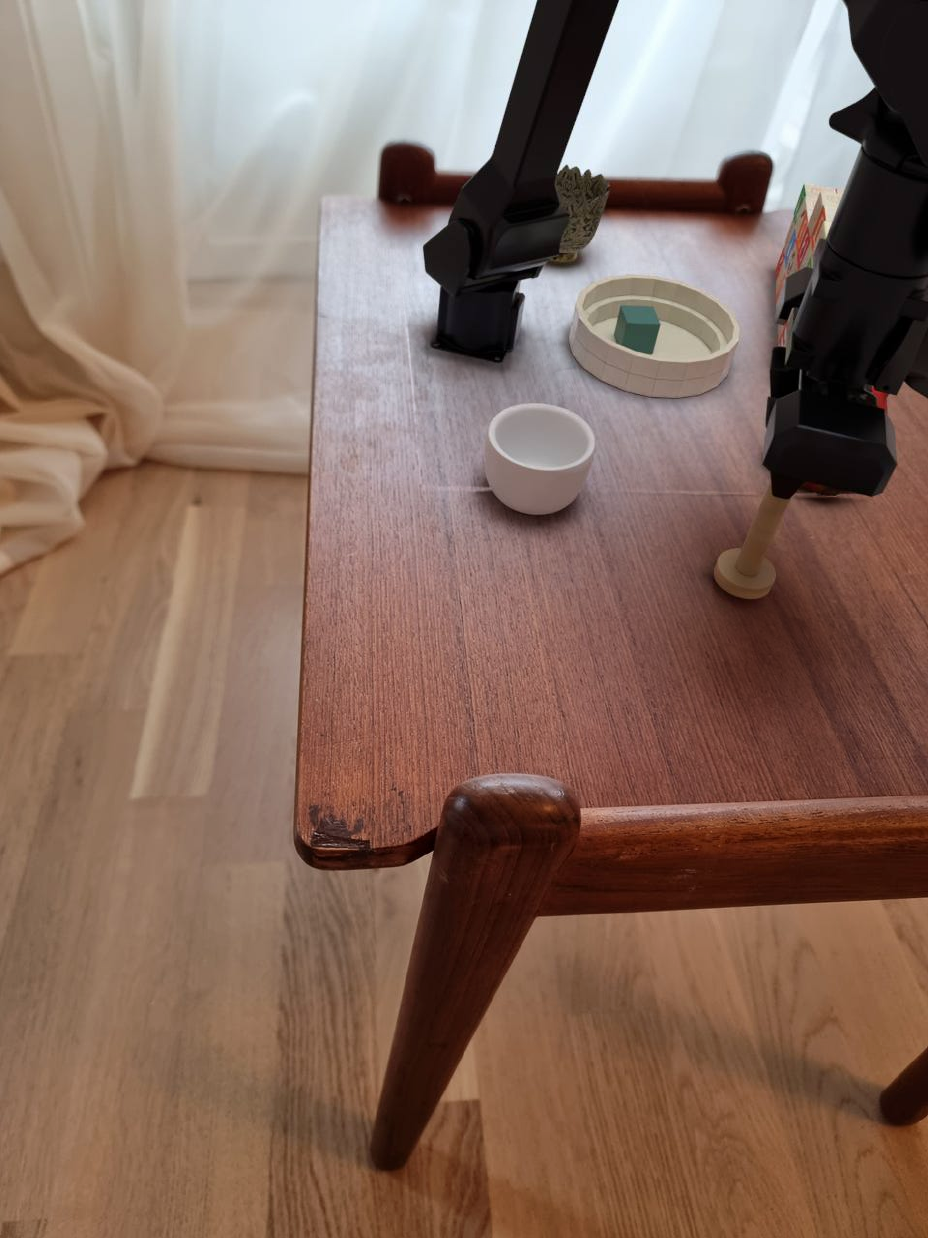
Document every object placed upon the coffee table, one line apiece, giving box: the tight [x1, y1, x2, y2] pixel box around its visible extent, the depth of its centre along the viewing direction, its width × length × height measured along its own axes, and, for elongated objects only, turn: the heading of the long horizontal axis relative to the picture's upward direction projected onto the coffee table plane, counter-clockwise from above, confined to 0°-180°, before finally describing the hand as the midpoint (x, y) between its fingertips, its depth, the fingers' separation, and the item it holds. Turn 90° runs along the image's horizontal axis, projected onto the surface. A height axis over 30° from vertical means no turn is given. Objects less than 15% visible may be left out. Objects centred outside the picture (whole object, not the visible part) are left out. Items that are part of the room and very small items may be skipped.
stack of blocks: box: [775, 182, 845, 347], centre depth 89 cm, size 21×6×12 cm, turn 168°
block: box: [614, 305, 661, 354], centre depth 87 cm, size 3×3×3 cm
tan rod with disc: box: [713, 478, 792, 600], centre depth 63 cm, size 4×4×12 cm
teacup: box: [484, 402, 596, 516], centre depth 71 cm, size 10×8×5 cm
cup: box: [547, 164, 611, 266], centre depth 95 cm, size 8×7×8 cm
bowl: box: [568, 273, 741, 399], centre depth 86 cm, size 14×14×4 cm
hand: (781, 487), depth 62 cm, fingers closed on tan rod with disc, 2 cm apart
